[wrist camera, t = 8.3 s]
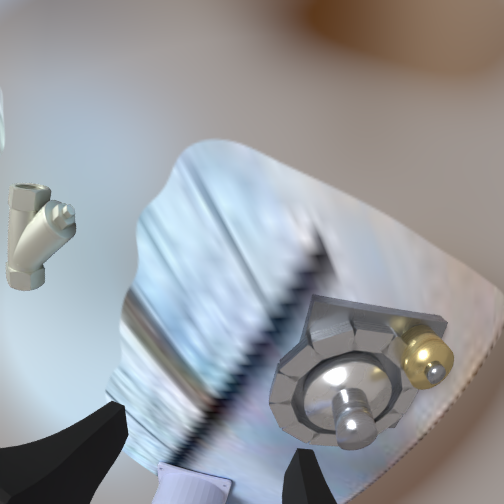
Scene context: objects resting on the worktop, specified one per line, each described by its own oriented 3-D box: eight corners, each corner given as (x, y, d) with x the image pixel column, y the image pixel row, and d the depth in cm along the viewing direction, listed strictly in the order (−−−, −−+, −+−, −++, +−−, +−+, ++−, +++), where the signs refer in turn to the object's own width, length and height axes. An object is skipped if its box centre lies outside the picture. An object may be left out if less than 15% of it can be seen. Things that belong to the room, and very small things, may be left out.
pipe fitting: (90, 196, 19) (32, 182, 19) (59, 201, 15) (1, 184, 15) (80, 293, 21) (26, 269, 21) (53, 311, 17) (-1, 282, 17)
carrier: (385, 428, 20) (398, 468, 15) (260, 416, 21) (254, 462, 16) (440, 315, 18) (474, 348, 13) (294, 290, 18) (296, 326, 13)
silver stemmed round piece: (362, 421, 19) (373, 468, 14) (291, 409, 19) (290, 459, 14) (400, 361, 17) (425, 406, 12) (323, 343, 18) (333, 392, 13)
